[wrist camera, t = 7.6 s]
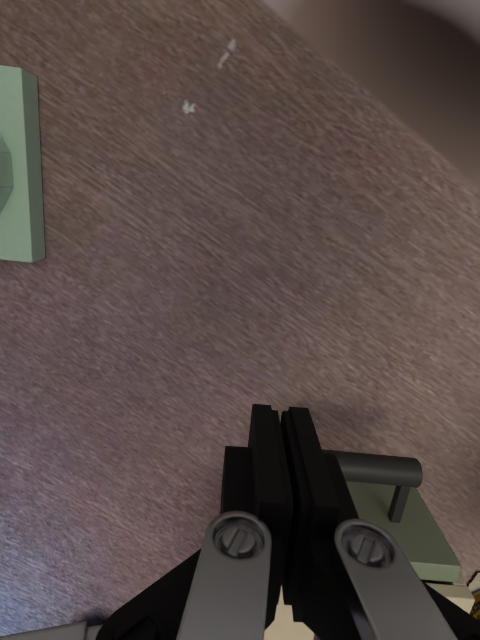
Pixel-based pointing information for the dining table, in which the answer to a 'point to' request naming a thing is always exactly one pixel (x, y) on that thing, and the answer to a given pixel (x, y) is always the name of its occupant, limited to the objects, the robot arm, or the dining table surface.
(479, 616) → the condiment
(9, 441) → the dining table surface
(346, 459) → the drawer
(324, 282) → the dining table surface
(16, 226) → the block
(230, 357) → the dining table surface
